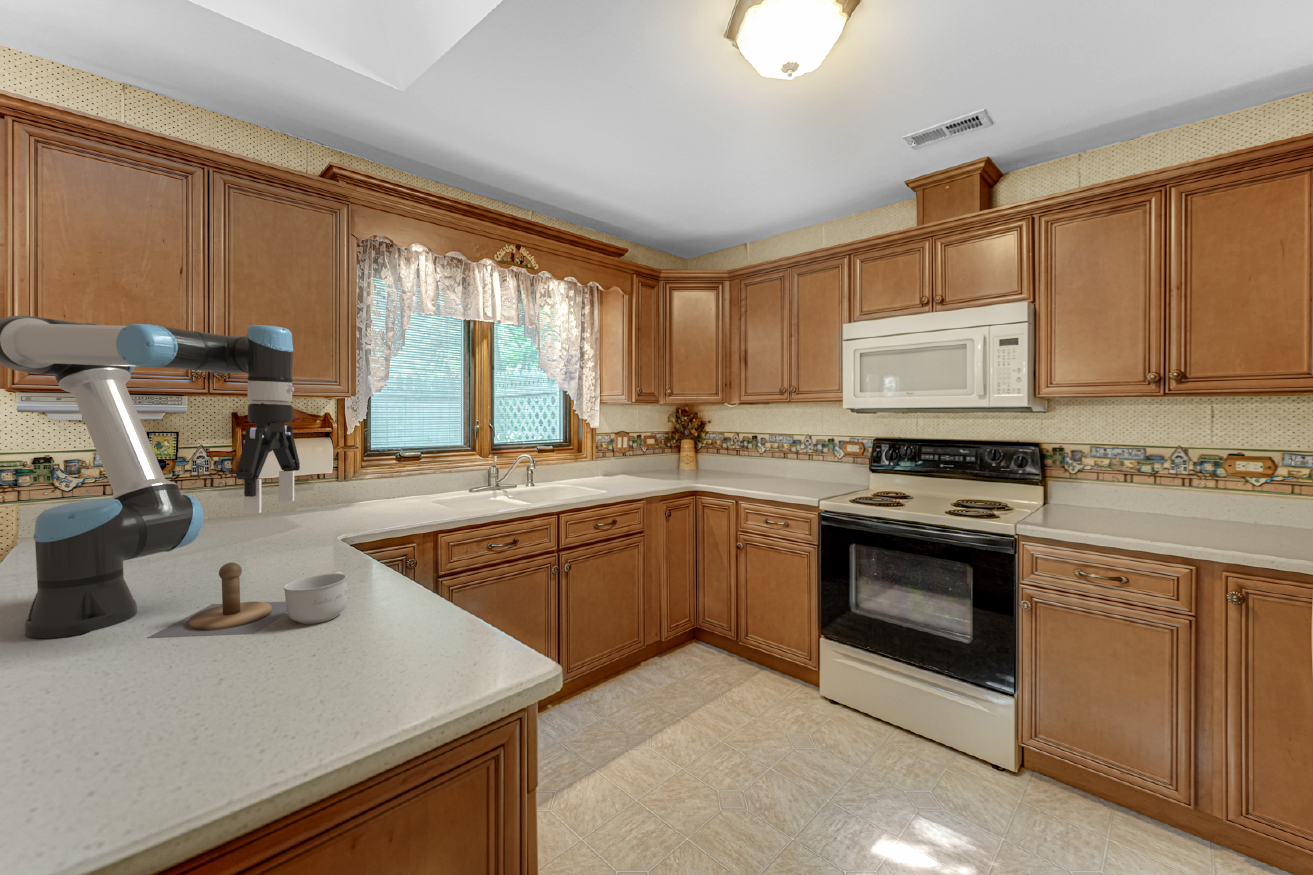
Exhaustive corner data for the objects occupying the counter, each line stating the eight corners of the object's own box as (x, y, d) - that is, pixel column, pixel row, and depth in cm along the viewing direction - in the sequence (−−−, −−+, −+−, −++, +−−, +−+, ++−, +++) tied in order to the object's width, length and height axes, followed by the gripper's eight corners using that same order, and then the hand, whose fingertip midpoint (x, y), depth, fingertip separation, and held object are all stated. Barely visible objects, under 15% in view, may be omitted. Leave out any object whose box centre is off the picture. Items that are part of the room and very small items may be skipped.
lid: (171, 631, 104) (169, 573, 103) (217, 607, 117) (215, 555, 116) (247, 628, 105) (246, 571, 105) (284, 605, 118) (283, 553, 118)
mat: (146, 640, 101) (146, 637, 101) (212, 605, 119) (212, 603, 119) (254, 635, 103) (254, 633, 103) (303, 602, 121) (303, 600, 121)
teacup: (319, 631, 105) (318, 589, 105) (270, 627, 107) (269, 586, 107) (371, 606, 119) (370, 569, 118) (326, 603, 121) (326, 566, 121)
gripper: (258, 403, 102) (258, 518, 103) (317, 404, 127) (316, 496, 128) (212, 401, 101) (213, 518, 102) (280, 402, 125) (280, 496, 127)
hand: (270, 506), depth 115 cm, fingers open, 13 cm apart
